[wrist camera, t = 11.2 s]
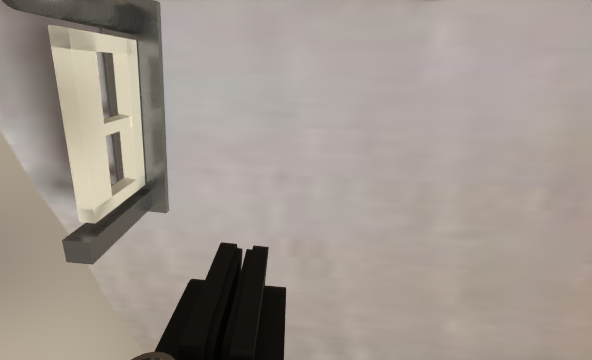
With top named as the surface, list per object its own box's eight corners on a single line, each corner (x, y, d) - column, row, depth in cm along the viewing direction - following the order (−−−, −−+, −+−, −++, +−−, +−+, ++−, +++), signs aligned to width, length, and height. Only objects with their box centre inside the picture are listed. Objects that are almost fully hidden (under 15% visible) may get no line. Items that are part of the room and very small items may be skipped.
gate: (122, 38, 31) (47, 24, 21) (136, 40, 31) (68, 27, 21) (133, 183, 37) (79, 221, 27) (145, 184, 37) (95, 223, 28)
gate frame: (102, -6, 30) (-45, -63, 17) (159, 2, 30) (59, -48, 17) (124, 205, 39) (39, 274, 26) (168, 210, 39) (106, 280, 26)
